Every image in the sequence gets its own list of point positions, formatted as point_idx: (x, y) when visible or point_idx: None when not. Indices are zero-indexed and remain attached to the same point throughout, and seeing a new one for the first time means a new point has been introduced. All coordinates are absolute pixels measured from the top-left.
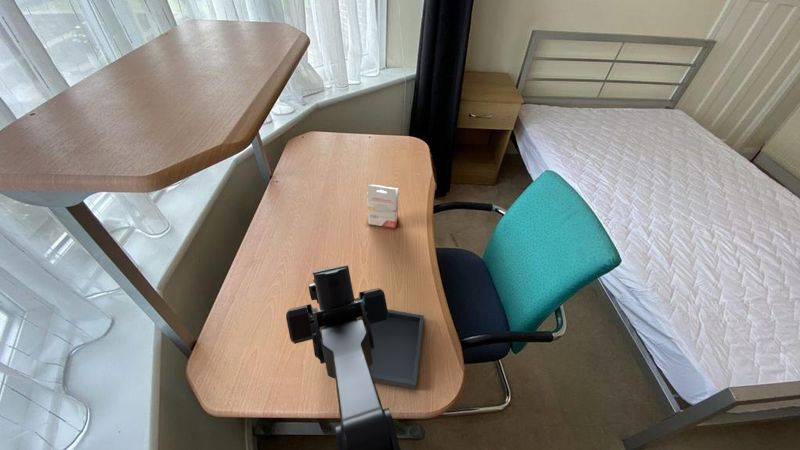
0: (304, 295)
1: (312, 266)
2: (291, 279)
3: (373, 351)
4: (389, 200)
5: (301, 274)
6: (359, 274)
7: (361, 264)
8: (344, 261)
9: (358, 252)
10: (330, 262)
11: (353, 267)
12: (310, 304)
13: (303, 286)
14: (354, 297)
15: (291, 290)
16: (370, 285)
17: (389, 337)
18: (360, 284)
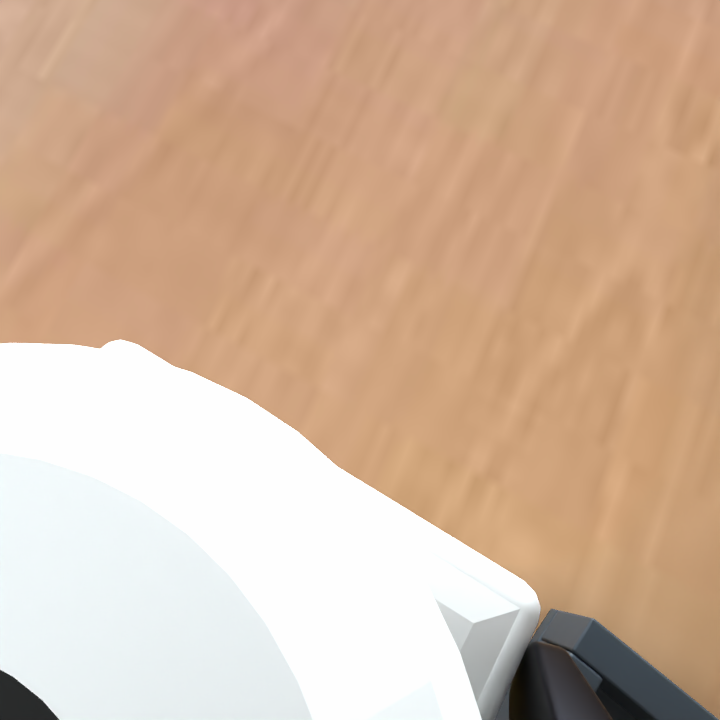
0: (124, 195)
1: (293, 5)
2: (105, 33)
3: None
4: None
5: (190, 28)
6: (612, 224)
7: (658, 149)
8: (536, 69)
9: (669, 46)
10: (431, 32)
11: (586, 145)
12: None
13: (155, 122)
14: (538, 601)
15: (59, 113)
16: (669, 364)
17: None
18: (588, 314)
